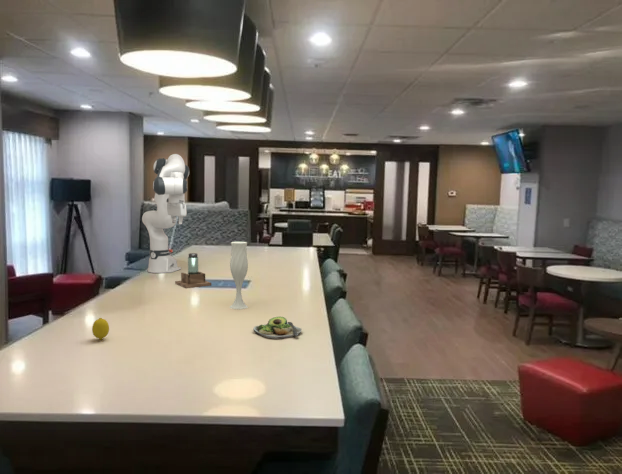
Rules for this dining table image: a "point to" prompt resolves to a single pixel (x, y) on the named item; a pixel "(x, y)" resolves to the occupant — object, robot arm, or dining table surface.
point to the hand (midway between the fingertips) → (177, 223)
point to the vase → (239, 271)
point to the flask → (192, 264)
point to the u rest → (193, 280)
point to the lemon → (100, 328)
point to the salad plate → (277, 329)
